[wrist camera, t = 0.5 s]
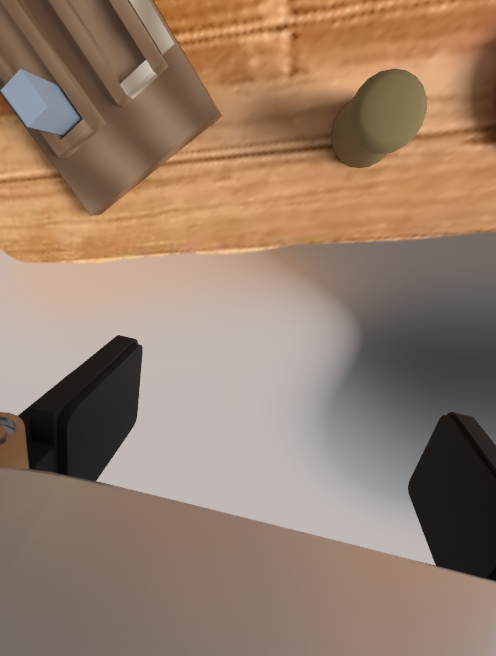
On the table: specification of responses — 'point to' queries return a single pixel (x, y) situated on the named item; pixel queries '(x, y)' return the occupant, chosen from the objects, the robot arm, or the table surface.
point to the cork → (379, 118)
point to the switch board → (107, 89)
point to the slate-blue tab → (41, 103)
